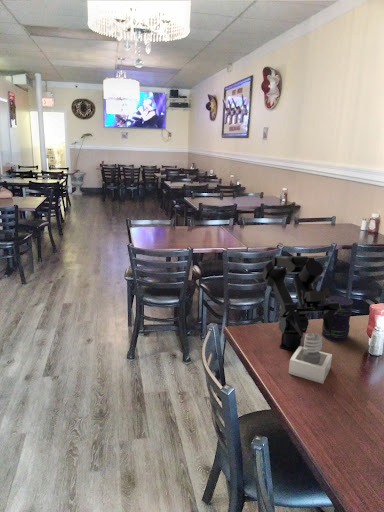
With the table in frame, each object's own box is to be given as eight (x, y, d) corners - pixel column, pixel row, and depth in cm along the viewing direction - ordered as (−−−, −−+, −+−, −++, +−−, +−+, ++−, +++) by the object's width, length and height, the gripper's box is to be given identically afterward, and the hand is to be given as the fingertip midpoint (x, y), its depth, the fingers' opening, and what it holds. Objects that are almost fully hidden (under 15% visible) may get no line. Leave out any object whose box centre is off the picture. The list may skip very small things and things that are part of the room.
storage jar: (340, 329, 161) (345, 294, 157) (353, 341, 152) (358, 304, 148) (316, 330, 160) (321, 295, 156) (328, 342, 150) (333, 305, 146)
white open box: (288, 373, 129) (289, 359, 127) (298, 359, 138) (299, 345, 136) (322, 383, 123) (324, 369, 122) (330, 368, 132) (332, 354, 131)
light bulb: (310, 373, 127) (313, 338, 124) (298, 365, 132) (301, 331, 129) (323, 369, 129) (327, 335, 126) (310, 361, 134) (314, 328, 131)
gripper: (285, 279, 125) (296, 327, 117) (341, 278, 128) (355, 324, 120) (275, 294, 135) (284, 339, 127) (327, 292, 137) (339, 336, 130)
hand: (316, 335), depth 126 cm, fingers open, 9 cm apart
